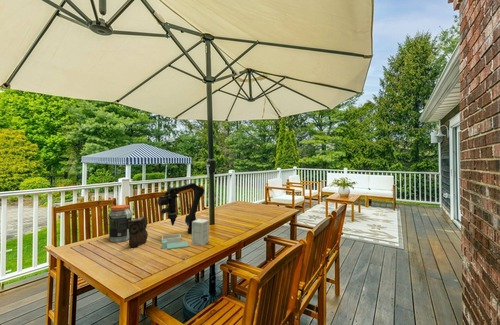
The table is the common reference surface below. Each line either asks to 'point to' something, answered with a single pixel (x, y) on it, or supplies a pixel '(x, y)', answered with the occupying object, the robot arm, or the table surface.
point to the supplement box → (200, 232)
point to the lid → (174, 245)
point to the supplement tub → (119, 223)
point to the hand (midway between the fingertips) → (172, 223)
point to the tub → (172, 238)
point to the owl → (137, 232)
